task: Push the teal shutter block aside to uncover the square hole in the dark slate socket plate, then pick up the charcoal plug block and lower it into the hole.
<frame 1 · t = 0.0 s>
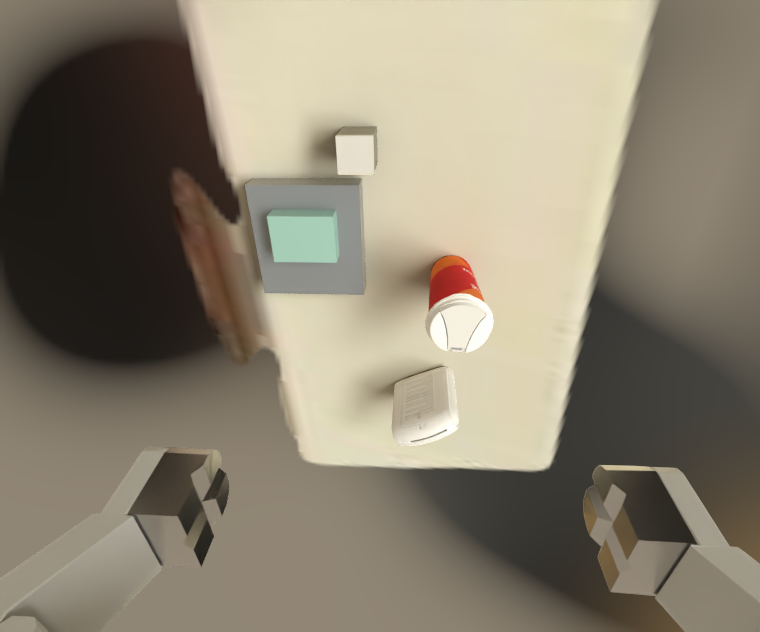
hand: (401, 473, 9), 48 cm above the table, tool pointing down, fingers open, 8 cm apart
off-white flat slab: (423, 380, 71), on the table
socket: (311, 224, 57), on the table
plug: (360, 144, 51), on the table
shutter: (304, 236, 54), point 4 cm above the table, slide at 0.0 cm
paper cup: (450, 272, 60), on the table
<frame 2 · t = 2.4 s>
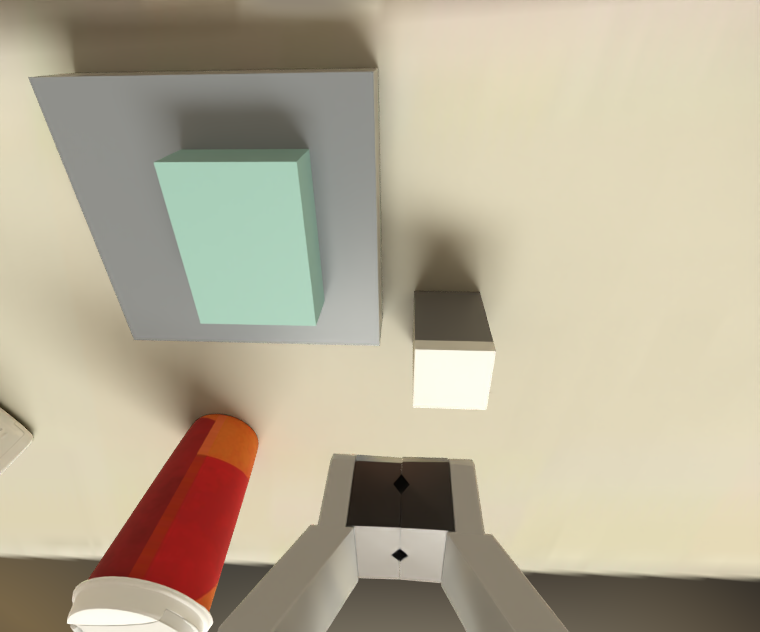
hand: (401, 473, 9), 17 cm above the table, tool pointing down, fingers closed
socket: (275, 212, 24), on the table
plug: (444, 318, 27), on the table
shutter: (251, 241, 21), point 4 cm above the table, slide at 0.0 cm
paper cup: (226, 436, 35), on the table
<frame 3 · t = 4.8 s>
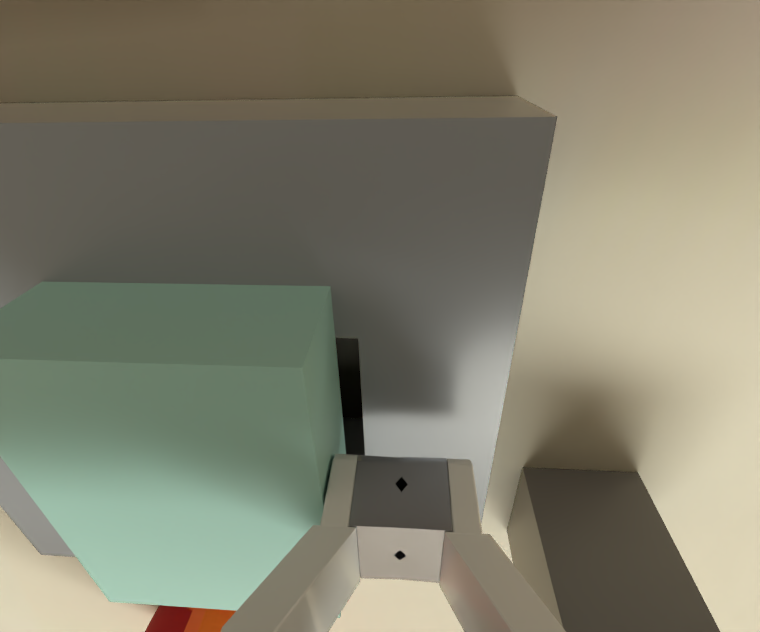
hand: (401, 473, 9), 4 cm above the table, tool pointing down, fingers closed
socket: (284, 351, 13), on the table
plug: (567, 503, 16), on the table
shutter: (205, 465, 10), point 4 cm above the table, slide at 0.8 cm, touching gripper
paper cup: (211, 613, 24), on the table
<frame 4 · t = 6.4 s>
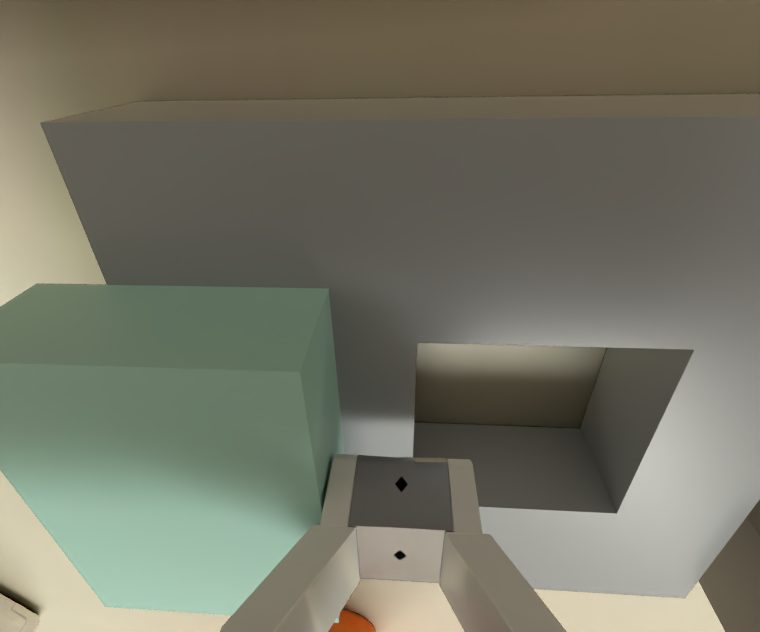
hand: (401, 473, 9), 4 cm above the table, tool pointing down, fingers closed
socket: (506, 360, 13), on the table
plug: (753, 514, 16), on the table
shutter: (201, 469, 10), point 4 cm above the table, slide at 7.5 cm, touching gripper
paper cup: (327, 625, 24), on the table
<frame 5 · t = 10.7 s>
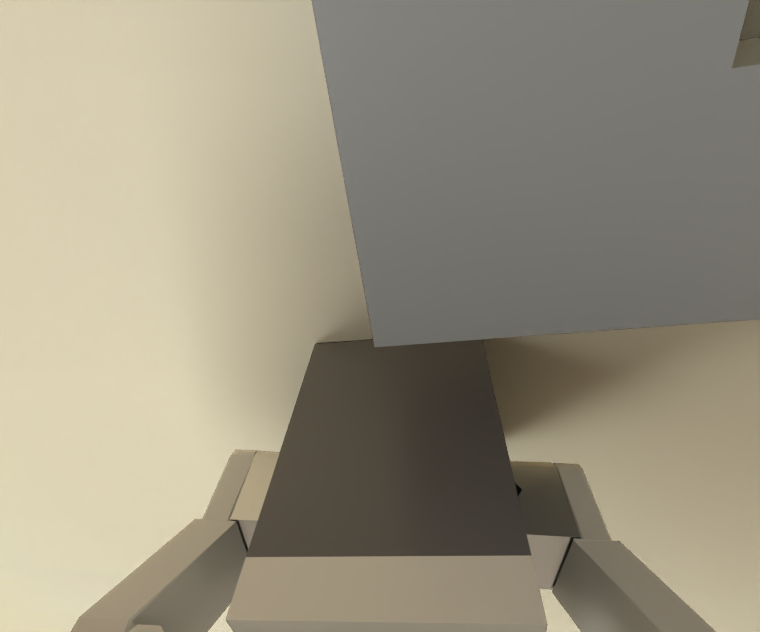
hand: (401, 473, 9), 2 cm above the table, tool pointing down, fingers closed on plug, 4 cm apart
plug: (404, 399, 11), on the table, touching gripper
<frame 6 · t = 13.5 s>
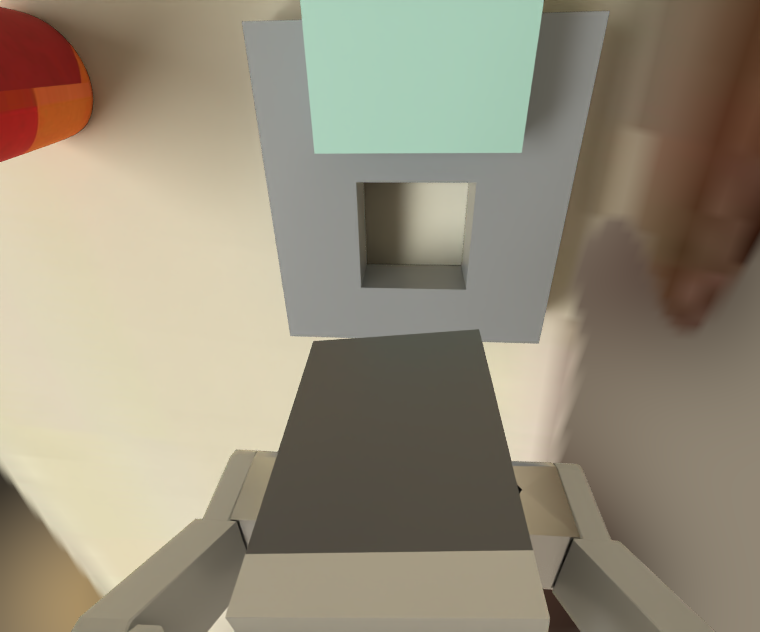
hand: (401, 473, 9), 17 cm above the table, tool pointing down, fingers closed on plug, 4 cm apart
socket: (414, 219, 24), on the table
plug: (402, 396, 11), point 14 cm above the table, touching gripper
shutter: (418, 62, 16), point 4 cm above the table, slide at 7.5 cm
paper cup: (41, 80, 22), on the table
when the fingers open (4 cm above the table, at t = 16.2 s): plug drops 2 cm, resting in socket.
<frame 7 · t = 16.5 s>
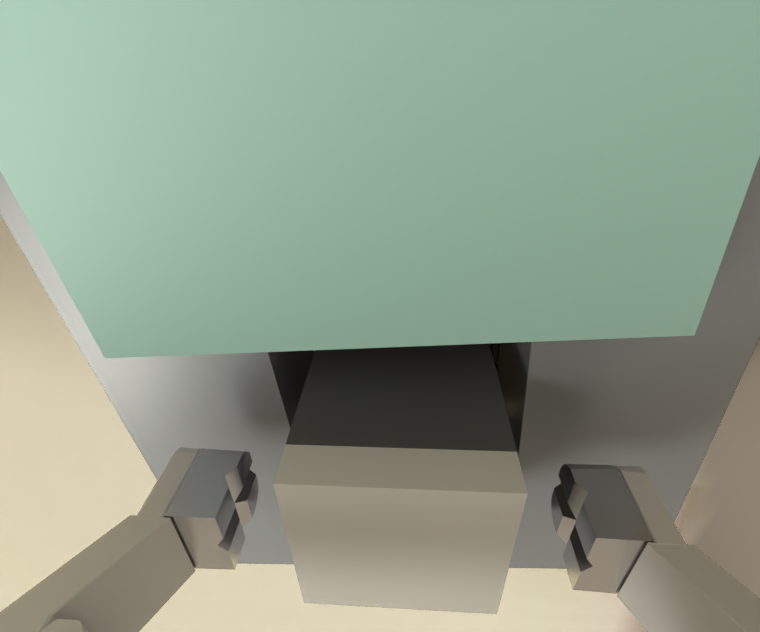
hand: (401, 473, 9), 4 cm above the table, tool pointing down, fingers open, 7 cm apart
socket: (405, 357, 13), on the table
plug: (404, 354, 13), resting in socket
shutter: (360, 90, 5), point 4 cm above the table, slide at 7.5 cm
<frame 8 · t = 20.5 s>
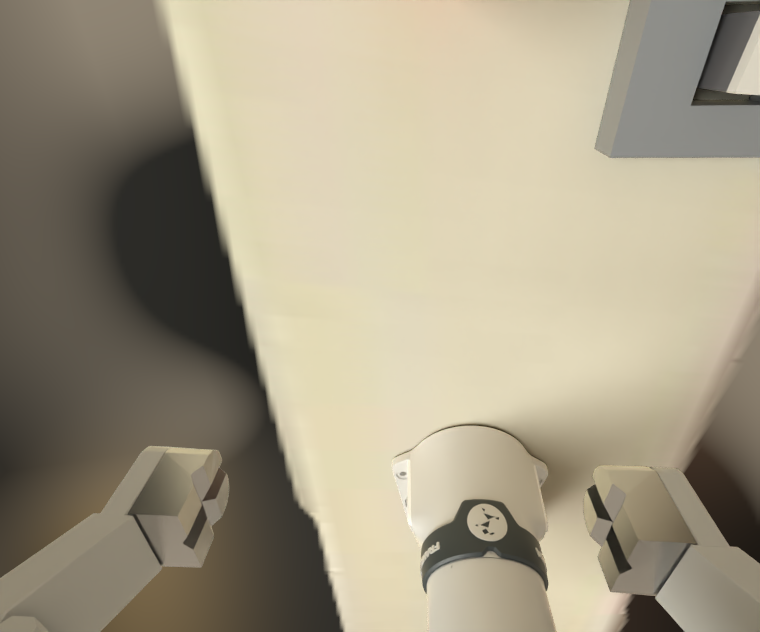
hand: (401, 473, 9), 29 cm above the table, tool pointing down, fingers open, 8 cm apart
socket: (724, 54, 29), on the table
plug: (723, 53, 29), resting in socket
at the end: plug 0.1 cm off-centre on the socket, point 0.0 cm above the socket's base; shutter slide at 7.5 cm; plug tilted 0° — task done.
